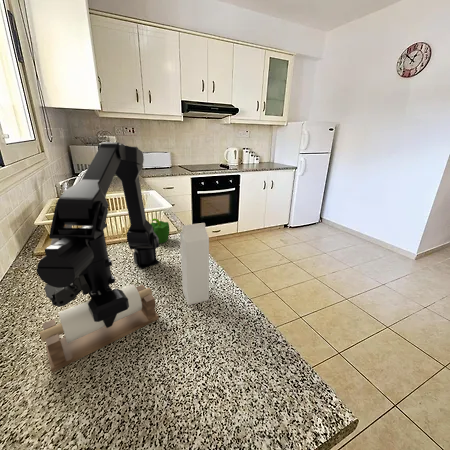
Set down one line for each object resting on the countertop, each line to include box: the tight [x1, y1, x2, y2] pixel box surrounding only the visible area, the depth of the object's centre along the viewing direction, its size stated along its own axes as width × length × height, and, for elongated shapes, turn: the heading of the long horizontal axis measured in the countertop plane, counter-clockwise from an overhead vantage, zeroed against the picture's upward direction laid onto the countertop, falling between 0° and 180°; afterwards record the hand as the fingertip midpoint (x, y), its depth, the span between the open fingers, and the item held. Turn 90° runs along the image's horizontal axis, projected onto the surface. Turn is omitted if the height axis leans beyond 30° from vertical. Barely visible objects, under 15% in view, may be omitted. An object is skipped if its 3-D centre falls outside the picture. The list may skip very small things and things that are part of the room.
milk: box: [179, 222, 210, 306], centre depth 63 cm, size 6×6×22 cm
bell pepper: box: [150, 217, 171, 244], centre depth 98 cm, size 8×8×10 cm
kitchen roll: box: [39, 283, 153, 344], centre depth 52 cm, size 22×6×6 cm, turn 131°
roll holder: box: [41, 284, 160, 374], centre depth 53 cm, size 22×7×6 cm, turn 131°
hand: (104, 317), depth 53 cm, fingers closed on kitchen roll, 6 cm apart
